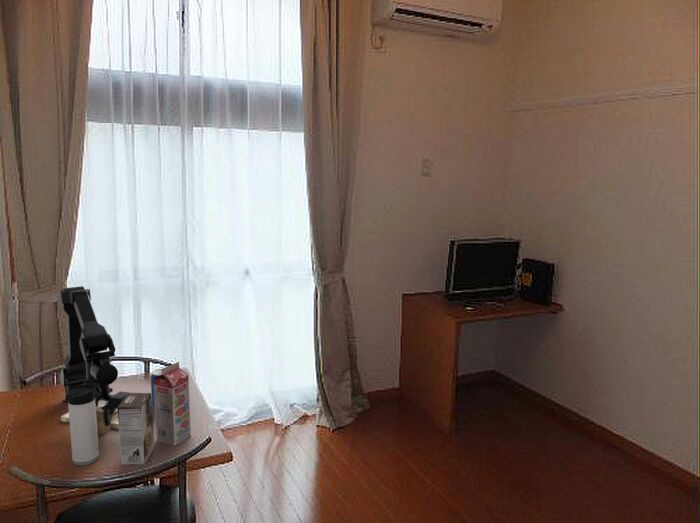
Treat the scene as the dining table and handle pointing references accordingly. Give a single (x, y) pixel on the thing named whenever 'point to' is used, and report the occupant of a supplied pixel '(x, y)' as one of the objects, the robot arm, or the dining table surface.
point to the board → (114, 419)
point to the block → (102, 421)
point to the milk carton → (172, 405)
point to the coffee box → (136, 428)
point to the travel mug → (83, 424)
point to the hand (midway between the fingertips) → (101, 424)
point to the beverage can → (154, 374)
